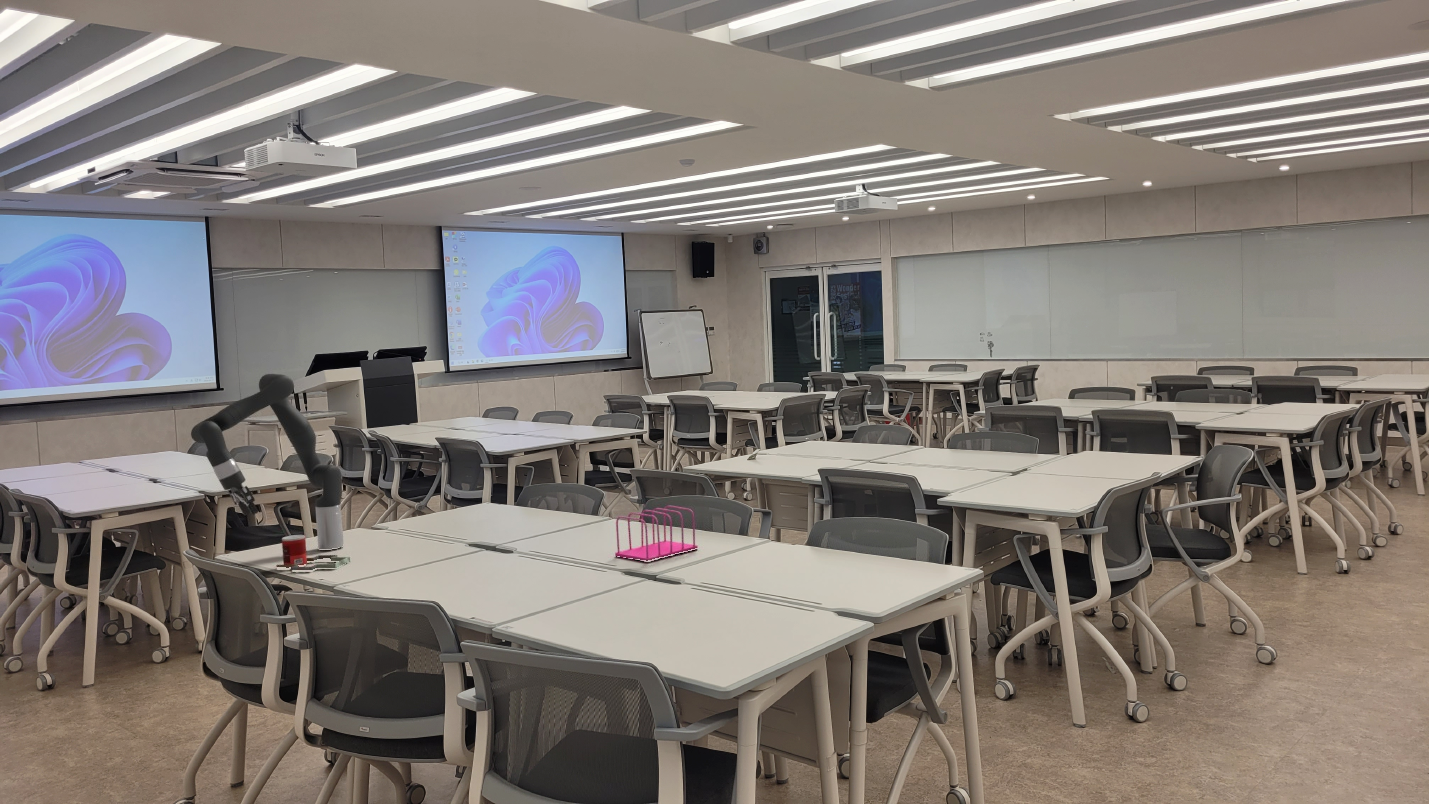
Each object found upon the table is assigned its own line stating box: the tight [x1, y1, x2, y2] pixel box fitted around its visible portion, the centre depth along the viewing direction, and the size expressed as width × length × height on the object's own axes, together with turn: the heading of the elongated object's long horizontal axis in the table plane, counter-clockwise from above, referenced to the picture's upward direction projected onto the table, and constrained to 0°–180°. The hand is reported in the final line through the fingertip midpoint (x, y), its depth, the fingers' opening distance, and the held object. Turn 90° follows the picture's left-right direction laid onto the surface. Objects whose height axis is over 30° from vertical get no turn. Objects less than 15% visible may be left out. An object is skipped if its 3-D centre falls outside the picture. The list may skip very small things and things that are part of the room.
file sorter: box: [614, 505, 699, 561], centre depth 351 cm, size 17×25×16 cm
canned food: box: [281, 534, 308, 565], centre depth 353 cm, size 8×8×11 cm
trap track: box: [276, 554, 351, 571], centre depth 352 cm, size 19×22×2 cm
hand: (251, 513), depth 345 cm, fingers open, 8 cm apart
